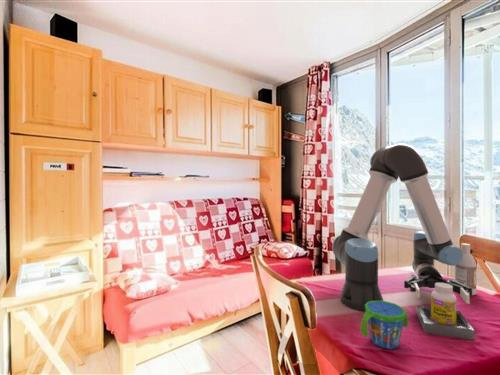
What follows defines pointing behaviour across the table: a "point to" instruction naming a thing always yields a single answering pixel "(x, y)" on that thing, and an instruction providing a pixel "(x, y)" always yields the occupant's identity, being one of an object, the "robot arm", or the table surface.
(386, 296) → the table surface
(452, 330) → the grey square tray
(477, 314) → the table surface
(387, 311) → the snack cup
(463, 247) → the bath foam
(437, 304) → the supplement bottle
